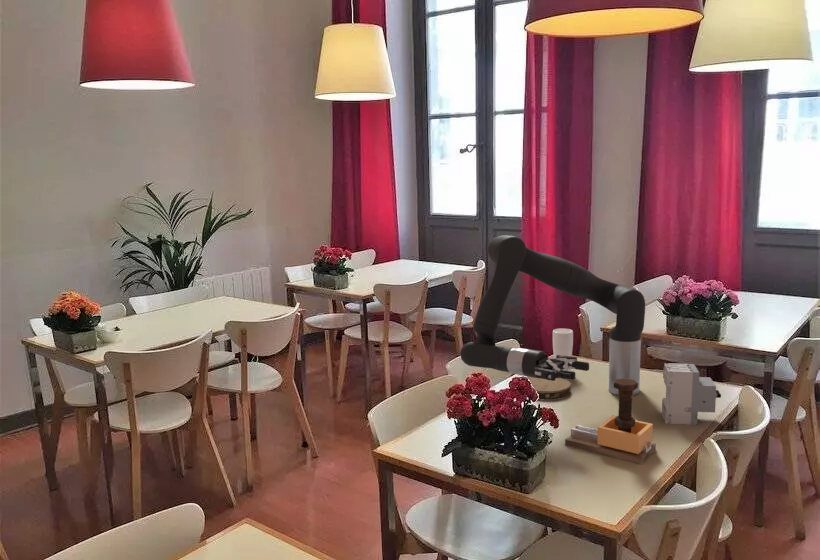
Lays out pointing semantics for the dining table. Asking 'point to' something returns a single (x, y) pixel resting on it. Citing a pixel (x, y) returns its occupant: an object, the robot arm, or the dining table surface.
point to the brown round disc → (551, 388)
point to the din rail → (596, 435)
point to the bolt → (625, 404)
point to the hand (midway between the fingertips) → (581, 371)
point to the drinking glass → (562, 342)
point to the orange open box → (625, 436)
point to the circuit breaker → (686, 394)
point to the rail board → (607, 449)
